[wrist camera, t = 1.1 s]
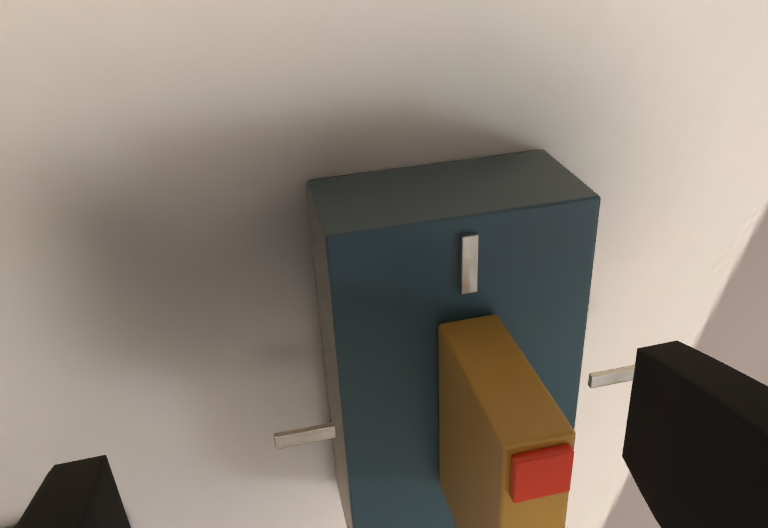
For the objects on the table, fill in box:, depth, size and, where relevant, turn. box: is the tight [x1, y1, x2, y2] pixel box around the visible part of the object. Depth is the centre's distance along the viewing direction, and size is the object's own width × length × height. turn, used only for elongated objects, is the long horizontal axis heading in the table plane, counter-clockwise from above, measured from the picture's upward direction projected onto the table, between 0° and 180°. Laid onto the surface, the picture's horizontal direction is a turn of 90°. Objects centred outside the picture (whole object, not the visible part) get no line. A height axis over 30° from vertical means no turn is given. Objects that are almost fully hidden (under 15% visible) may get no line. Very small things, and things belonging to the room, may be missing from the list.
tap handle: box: [438, 314, 575, 528], centre depth 16 cm, size 5×1×4 cm, turn 3°
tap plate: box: [274, 150, 635, 528], centre depth 19 cm, size 10×9×3 cm
